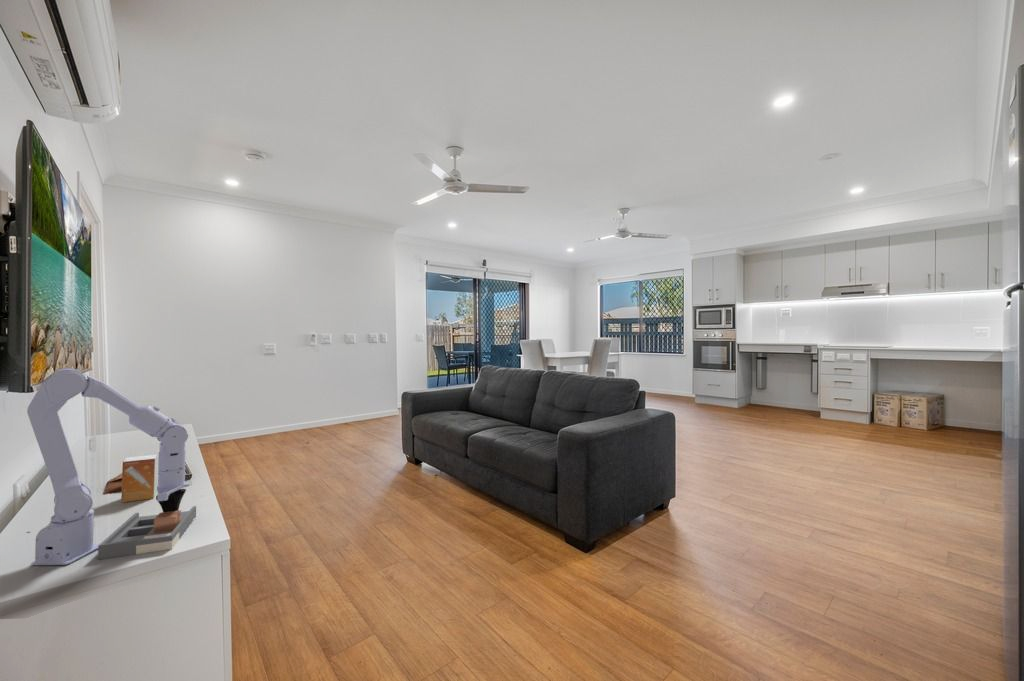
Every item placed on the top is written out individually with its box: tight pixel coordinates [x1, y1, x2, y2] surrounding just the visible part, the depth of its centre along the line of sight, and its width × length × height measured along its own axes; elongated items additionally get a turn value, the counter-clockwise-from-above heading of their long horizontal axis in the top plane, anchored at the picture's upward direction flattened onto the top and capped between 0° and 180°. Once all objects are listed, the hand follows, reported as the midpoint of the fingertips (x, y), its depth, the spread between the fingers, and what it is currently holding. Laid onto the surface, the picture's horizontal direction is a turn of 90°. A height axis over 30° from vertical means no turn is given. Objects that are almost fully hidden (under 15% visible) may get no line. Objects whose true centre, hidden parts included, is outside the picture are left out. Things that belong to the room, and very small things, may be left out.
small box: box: [120, 454, 159, 503], centre depth 140 cm, size 8×6×13 cm
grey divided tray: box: [97, 505, 197, 560], centre depth 113 cm, size 21×14×3 cm, turn 23°
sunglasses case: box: [103, 472, 122, 495], centre depth 152 cm, size 18×7×7 cm
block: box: [154, 510, 182, 533], centre depth 113 cm, size 4×4×4 cm
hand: (170, 519), depth 116 cm, fingers closed
